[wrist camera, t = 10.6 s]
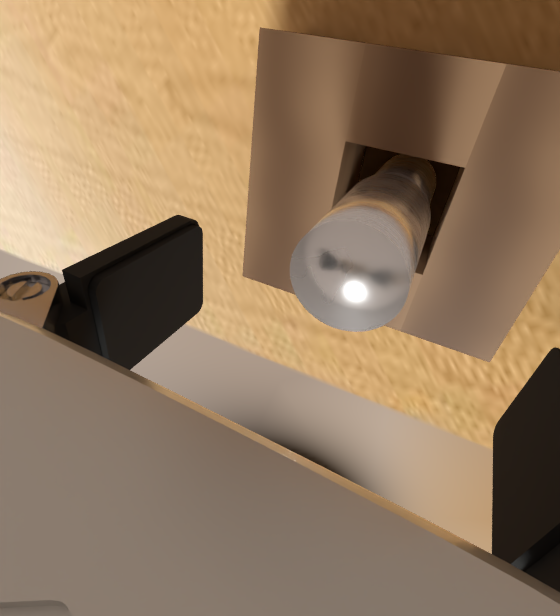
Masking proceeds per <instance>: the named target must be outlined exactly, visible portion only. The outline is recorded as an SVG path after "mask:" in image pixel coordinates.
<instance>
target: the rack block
mask: <svg viewBox="0 0 560 616" xmlns="http://www.w3.org/2000/svg"><path fill="white" fill-rule="evenodd" d="M366 146H369V147H374V148H378V149H383V150H387V151H392V152H396V153H401V154H405V155H410V156H414V157H419V158H423V159H428V160H432V161H437V162H441V163H446V164H450V165H455V166H459V167H460V169H459V172H458V174H457V177H456V180H455V182H454V185H453V187H452V190H451V192H450V195H449V197H448V200H447V203H446V205H445V208H444V210H443V213H442V215H441V218H440V221H439V223H438V226H437V228H436V231H435V233H434V236H433V237H431V236H426V239H425V242H424V246H423V249H422V252H421V255H420V258H419V261H418V265H417V268H416V271H415V274H414V277H413V281H412V284H411V287H410V290H409V293H408V296H407V300H406V302H405V304H404V306H403V308H402V309H401V311H400V312H399V313H398V314H397V316H396V317H395V318H393V319H392V320H391V321H390V322H388V323H387V324H385V325H384V326H387V327H390V328H393V329H396V330H399V331H401V332H404V333H407V334H410V335H413V336H416V337H419V338H421V339H424V340H427V341H430V342H433V343H436V344H439V345H442V346H444V347H447V348H450V349H453V350H456V351H459V352H462V353H464V354H467V355H470V356H473V357H476V358H479V359H482V360H484V361H487V362H490V361H491V359H492V358H493V356H494V355H495V353H496V351H497V350H498V348H499V346H500V345H501V343H502V342H503V340H504V338H505V337H506V335H507V334H508V332H509V330H510V329H511V327H512V326H513V324H514V322H515V321H516V319H517V317H518V316H519V314H520V313H521V311H522V309H523V308H524V306H525V305H526V303H527V301H528V300H529V298H530V296H531V295H532V293H533V292H534V290H535V288H536V287H537V285H538V284H539V282H540V280H541V279H542V277H543V276H544V274H545V272H546V271H547V269H548V267H549V266H550V264H551V263H552V261H553V259H554V258H555V256H556V255H557V253H558V251H559V250H560V71H553V70H546V69H540V68H533V67H526V66H519V65H513V64H506V63H499V62H492V61H485V60H479V59H472V58H465V57H458V56H451V55H445V54H438V53H431V52H424V51H417V50H411V49H404V48H397V47H390V46H383V45H377V44H370V43H363V42H356V41H349V40H343V39H336V38H329V37H322V36H316V35H309V34H302V33H295V32H288V31H281V30H273V29H266V28H260V32H259V46H258V61H257V75H256V90H255V104H254V118H253V133H252V147H251V162H250V176H249V191H248V205H247V220H246V234H245V248H244V263H243V276H244V277H247V278H250V279H252V280H255V281H258V282H261V283H264V284H267V285H270V286H273V287H275V288H278V289H281V290H284V291H287V292H290V293H293V294H295V292H294V289H293V286H292V283H291V278H290V262H291V257H292V254H293V252H294V249H295V248H296V246H297V244H298V243H299V241H300V240H301V239H302V238H303V237H304V236H305V235H306V234H307V233H308V232H309V231H310V230H311V229H312V228H313V227H314V226H315V225H316V224H317V223H318V222H319V221H320V220H321V219H322V218H323V217H324V216H325V215H326V214H327V213H328V212H329V211H330V210H331V209H332V208H333V207H334V206H335V205H336V204H337V203H338V202H339V201H340V200H341V199H342V198H343V197H344V196H345V195H346V194H347V193H348V192H349V191H350V190H351V189H352V188H353V187H354V186H355V185H356V184H357V183H358V179H359V175H360V171H361V167H362V163H363V158H364V154H365V150H366ZM295 295H296V294H295Z"/></svg>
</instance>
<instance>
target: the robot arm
mask: <svg viewBox="0 0 560 616" xmlns="http://www.w3.org/2000/svg"><path fill="white" fill-rule="evenodd" d="M62 272H63V276H64V279H65V282H64V283H62V284H60V285H59V283H58V280H57V279H56V278H55V277H54V276H53V275H51V274H49V273H44V272H36V271H30V272H20V273H16V274H12V275H9V276H6V277H4V278H1V279H0V616H560V349H559V348H556V347H555V348H553V349H551V351H550V352H549V353H548V354H547V356H546V357H545V358H544V360H543V361H542V362H541V364H540V365H539V367H538V368H537V369H536V371H535V372H534V373H533V375H532V376H531V377H530V379H529V380H528V382H527V383H526V384H525V386H524V387H523V388H522V390H521V391H520V392H519V394H518V395H517V397H516V398H515V399H514V401H513V402H512V403H511V405H510V406H509V407H508V409H507V410H506V412H505V413H504V414H503V416H502V417H501V418H500V420H499V421H498V423H497V425H496V427H495V430H494V434H493V508H492V511H493V512H492V554H490V553H488V552H486V551H485V550H483V549H481V548H479V547H477V546H475V545H473V544H471V543H469V542H467V541H465V540H464V539H462V538H460V537H458V536H456V535H454V534H452V533H450V532H448V531H447V530H445V529H443V528H441V527H439V526H437V525H435V524H433V523H431V522H429V521H428V520H425V519H424V518H422V517H420V516H418V515H416V514H414V513H412V512H410V511H408V510H406V509H404V508H402V507H401V506H399V505H397V504H395V503H393V502H390V501H389V500H387V499H385V498H383V497H381V496H379V495H377V494H375V493H373V492H371V491H369V490H367V489H365V488H363V487H361V486H359V485H357V484H355V483H353V482H351V481H349V480H347V479H345V478H343V477H341V476H339V475H337V474H336V473H334V472H332V471H330V470H328V469H326V468H323V467H322V466H320V465H318V464H316V463H314V462H312V461H310V460H308V459H306V458H304V457H302V456H300V455H298V454H296V453H294V452H292V451H290V450H288V449H286V448H284V447H282V446H280V445H278V444H276V443H274V442H272V441H270V440H268V439H266V438H264V437H262V436H260V435H258V434H256V433H254V432H252V431H250V430H248V429H246V428H244V427H243V426H241V425H238V424H237V423H234V422H232V421H231V420H229V419H227V418H225V417H222V416H220V415H218V414H217V413H215V412H213V411H210V410H208V409H206V408H204V407H202V406H200V405H199V404H197V403H195V402H192V401H190V400H189V399H187V398H185V397H183V396H181V395H178V394H177V393H175V392H172V391H171V390H169V389H167V388H165V387H162V386H160V385H158V384H156V383H154V382H152V381H150V380H148V379H146V378H144V377H142V376H140V375H138V374H136V373H134V372H132V371H130V369H131V368H133V367H134V366H135V365H136V364H137V363H139V362H140V361H141V360H142V359H143V358H145V357H146V356H147V355H148V354H149V353H151V352H152V351H153V350H154V349H155V348H157V347H158V346H159V345H160V344H161V343H163V342H164V341H165V340H166V339H167V338H168V337H170V336H171V335H172V334H173V333H174V332H176V331H177V330H178V329H179V328H180V327H182V326H183V325H184V324H185V323H186V322H187V321H189V320H190V319H191V318H192V317H193V316H195V315H196V314H197V313H198V312H199V311H200V309H201V307H202V304H203V233H202V229H201V228H200V227H199V225H198V222H197V221H196V220H193V219H190V218H187V217H184V216H181V215H176V216H173V217H171V218H169V219H167V220H165V221H163V222H161V223H159V224H157V225H155V226H153V227H151V228H149V229H146V230H144V231H142V232H140V233H138V234H136V235H134V236H132V237H130V238H128V239H126V240H124V241H121V242H119V243H117V244H115V245H113V246H111V247H109V248H107V249H105V250H103V251H101V252H99V253H96V254H94V255H92V256H90V257H88V258H86V259H84V260H82V261H80V262H78V263H76V264H74V265H71V266H69V267H67V268H65V269H63V270H62Z"/></svg>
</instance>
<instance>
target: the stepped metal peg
mask: <svg viewBox="0 0 560 616" xmlns="http://www.w3.org/2000/svg"><path fill="white" fill-rule="evenodd" d="M435 188H436V174H435V171H434V169H433V167H432V165H431V164H430V163H429V161H427V160H426V159H423V158H419V157H414V156H410V155H405V154H400V155H397V156H394V157H392V158H391V159H389V160H388V161H387V162H386V163H385V164H384V165H383V166H382V167H381V168H380V169H379V170H378V171H377V172H376V173H375V175H372V176H370V177H367V178H365V179H363V180H362V181H360V182H359V183H357V184H356V185H355V186H354V187H353V188H352V189H351V190H350V191H349V192H348V193H347V194H346V195H345V196H344V197H343V198H342V199H341V200H340V201H339V202H338V203H337V204H336V205H335V206H334V207H333V208H332V209H331V210H330V211H329V212H328V213H327V214H326V215H325V216H324V217H323V218H322V219H321V220H320V221H319V222H318V223H317V224H316V225H315V226H314V227H313V228H312V229H311V230H310V231H309V232H308V233H307V234H306V235H305V236H304V237H303V238H302V239H301V240H300V241H299V243H298V244H297V246H296V248H295V249H294V252H293V254H292V257H291V262H290V278H291V283H292V286H293V289H294V292H295V294H296V296H297V298H298V299H299V301H300V302H301V304H302V305H303V306H304V308H305V309H306V310H307V311H308V312H309V313H310V314H312V315H313V316H314V317H315V318H317V319H318V320H320V321H321V322H323V323H325V324H327V325H329V326H331V327H334V328H337V329H340V330H345V331H354V332H359V331H368V330H373V329H376V328H379V327H381V326H383V325H385V324H387V323H388V322H390V321H391V320H392V319H393V318H395V317H396V316H397V314H398V313H399V312H400V311H401V309H402V308H403V306H404V304H405V302H406V300H407V296H408V293H409V290H410V287H411V284H412V281H413V277H414V274H415V271H416V268H417V265H418V261H419V258H420V255H421V252H422V249H423V246H424V242H425V239H426V236H427V233H428V230H429V226H430V220H431V212H430V206H429V205H430V202H431V199H432V197H433V194H434V191H435Z"/></svg>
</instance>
